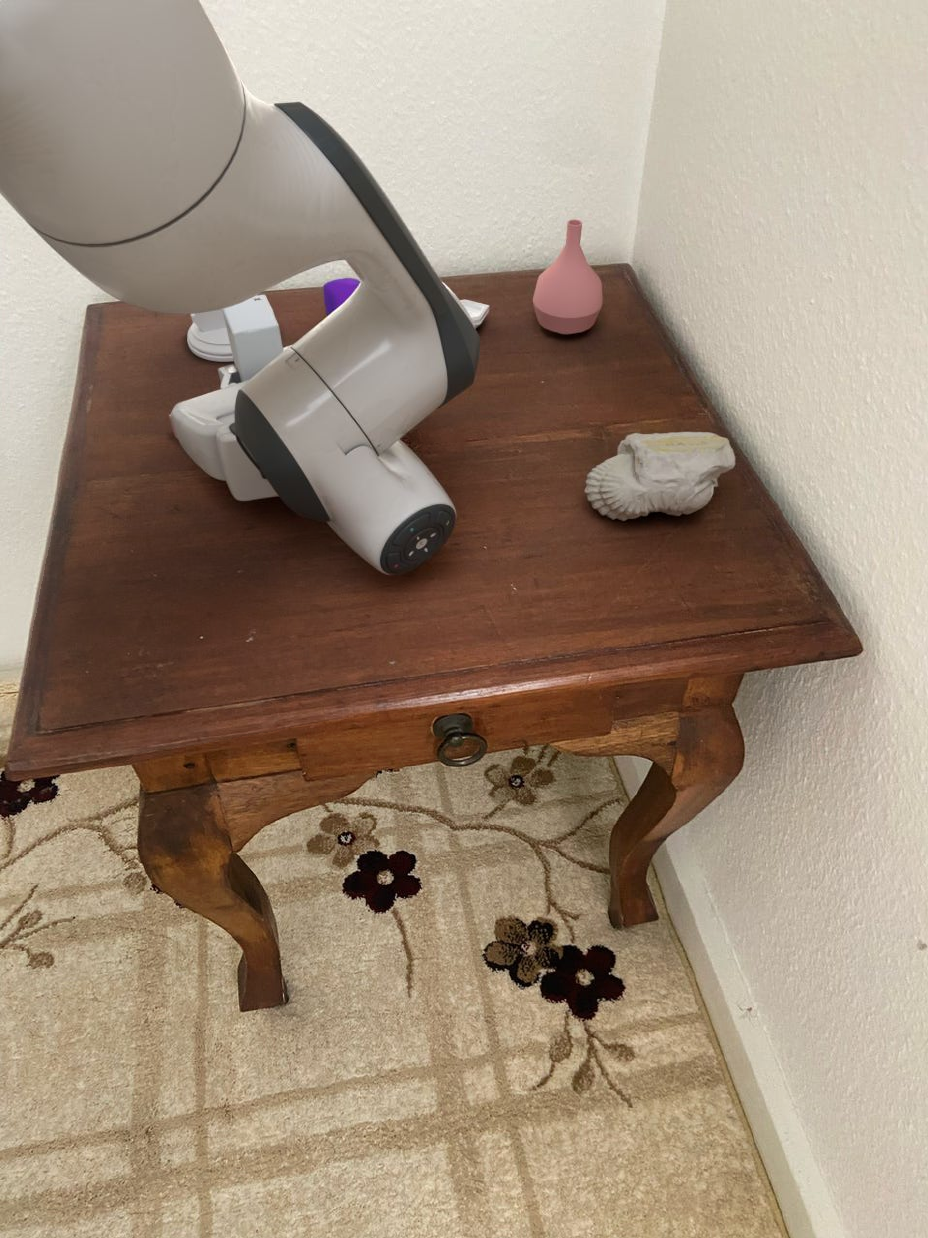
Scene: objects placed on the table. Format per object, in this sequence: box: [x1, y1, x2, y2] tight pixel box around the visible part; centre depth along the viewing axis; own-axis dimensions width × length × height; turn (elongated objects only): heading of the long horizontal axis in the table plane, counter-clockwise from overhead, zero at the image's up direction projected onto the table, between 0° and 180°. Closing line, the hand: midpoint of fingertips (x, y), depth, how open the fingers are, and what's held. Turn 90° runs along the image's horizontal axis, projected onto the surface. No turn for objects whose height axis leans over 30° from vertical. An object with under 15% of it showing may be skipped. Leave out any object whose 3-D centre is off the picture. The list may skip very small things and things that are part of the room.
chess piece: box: [186, 295, 258, 363], centre depth 92 cm, size 10×10×15 cm
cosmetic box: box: [222, 294, 284, 382], centre depth 81 cm, size 6×4×12 cm
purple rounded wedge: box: [322, 277, 361, 317], centre depth 96 cm, size 5×5×15 cm
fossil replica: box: [584, 431, 736, 522], centre depth 75 cm, size 12×8×10 cm
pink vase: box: [532, 218, 604, 335], centre depth 94 cm, size 8×8×12 cm
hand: (256, 363), depth 81 cm, fingers closed on cosmetic box, 5 cm apart
